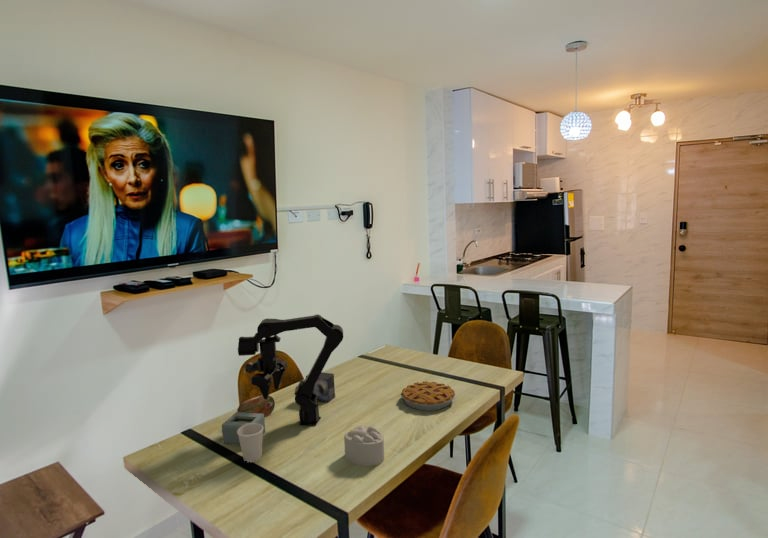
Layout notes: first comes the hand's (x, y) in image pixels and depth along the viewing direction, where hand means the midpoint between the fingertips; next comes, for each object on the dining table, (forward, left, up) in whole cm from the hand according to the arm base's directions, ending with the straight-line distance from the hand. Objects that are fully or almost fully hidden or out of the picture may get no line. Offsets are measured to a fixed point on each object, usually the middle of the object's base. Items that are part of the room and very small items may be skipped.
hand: (271, 394), depth 176 cm
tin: (+9, -4, -12) cm, 16 cm away
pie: (-55, -28, -12) cm, 63 cm away
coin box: (+6, +11, -12) cm, 17 cm away
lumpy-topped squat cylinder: (-40, +17, -12) cm, 45 cm away
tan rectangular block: (+6, +11, -11) cm, 17 cm away
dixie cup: (-3, +23, -12) cm, 26 cm away
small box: (-10, -25, -12) cm, 30 cm away
